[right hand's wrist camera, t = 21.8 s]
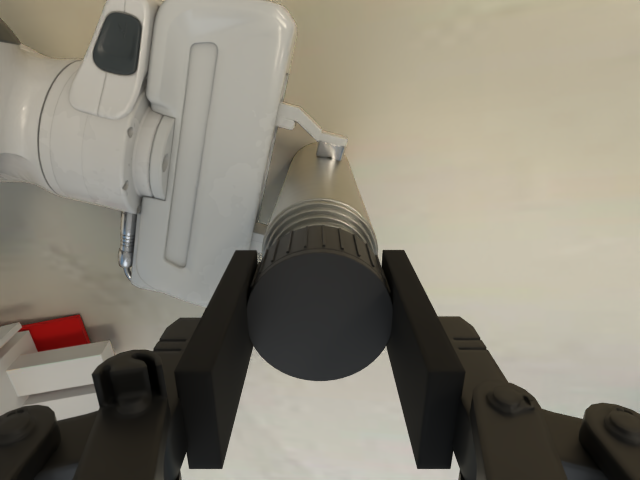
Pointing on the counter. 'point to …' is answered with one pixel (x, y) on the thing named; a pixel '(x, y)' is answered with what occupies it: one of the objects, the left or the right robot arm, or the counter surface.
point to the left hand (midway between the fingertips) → (332, 194)
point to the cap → (319, 304)
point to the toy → (50, 366)
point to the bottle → (319, 199)
